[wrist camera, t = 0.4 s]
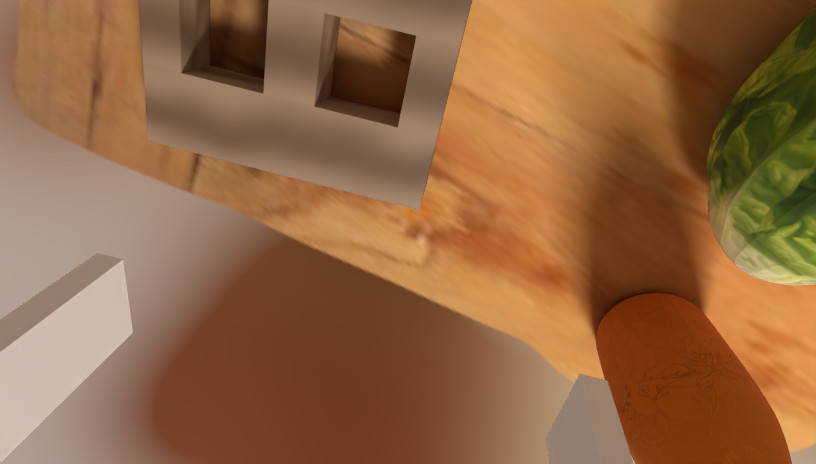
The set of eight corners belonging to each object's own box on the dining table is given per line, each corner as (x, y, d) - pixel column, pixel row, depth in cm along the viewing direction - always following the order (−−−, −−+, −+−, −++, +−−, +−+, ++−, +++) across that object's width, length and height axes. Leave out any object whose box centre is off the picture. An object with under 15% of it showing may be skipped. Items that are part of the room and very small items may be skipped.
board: (169, -129, 31) (129, -145, 28) (485, -54, 30) (485, -59, 27) (177, 127, 40) (148, 140, 36) (424, 190, 39) (418, 209, 36)
